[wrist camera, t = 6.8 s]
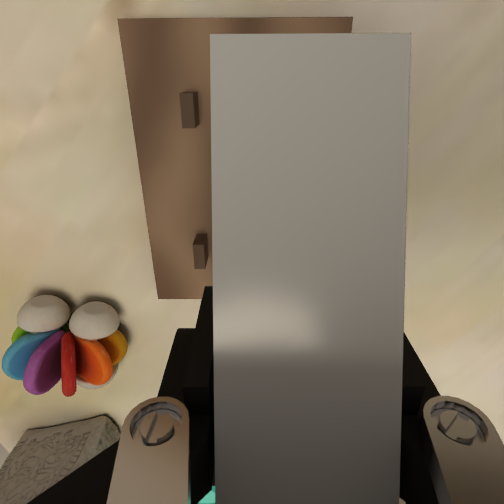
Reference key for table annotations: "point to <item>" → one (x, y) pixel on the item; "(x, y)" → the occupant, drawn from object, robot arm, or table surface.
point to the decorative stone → (52, 456)
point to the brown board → (184, 133)
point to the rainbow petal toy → (64, 346)
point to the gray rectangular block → (308, 265)
